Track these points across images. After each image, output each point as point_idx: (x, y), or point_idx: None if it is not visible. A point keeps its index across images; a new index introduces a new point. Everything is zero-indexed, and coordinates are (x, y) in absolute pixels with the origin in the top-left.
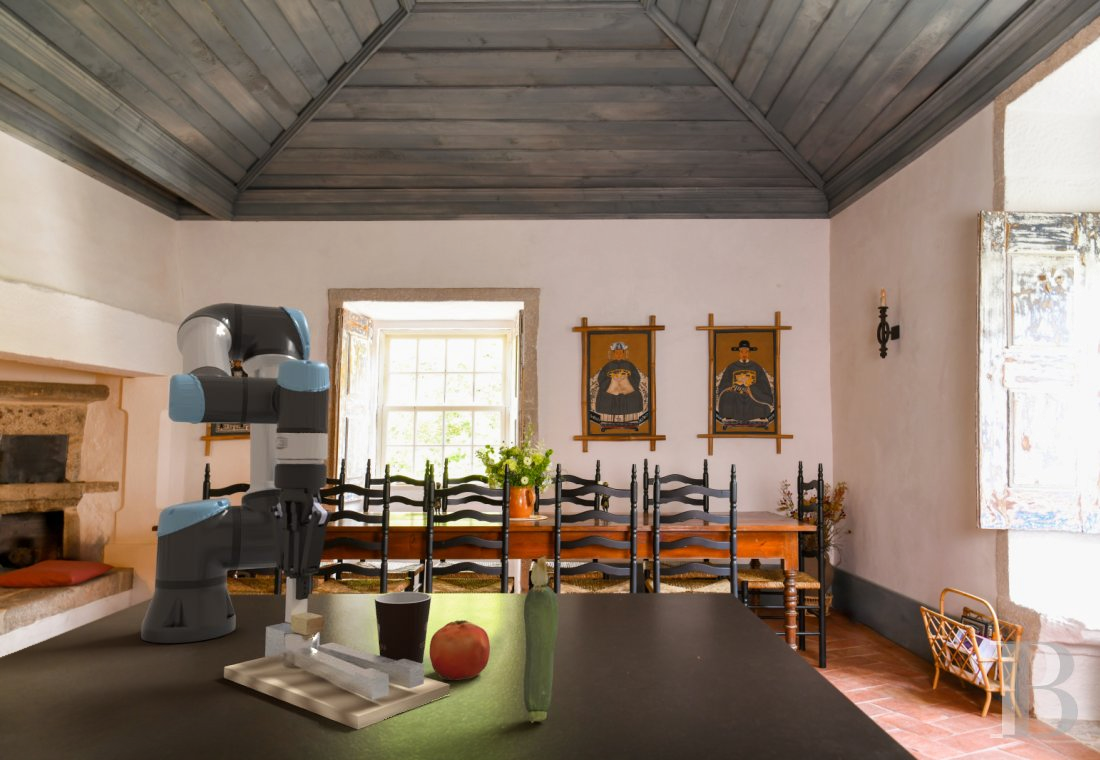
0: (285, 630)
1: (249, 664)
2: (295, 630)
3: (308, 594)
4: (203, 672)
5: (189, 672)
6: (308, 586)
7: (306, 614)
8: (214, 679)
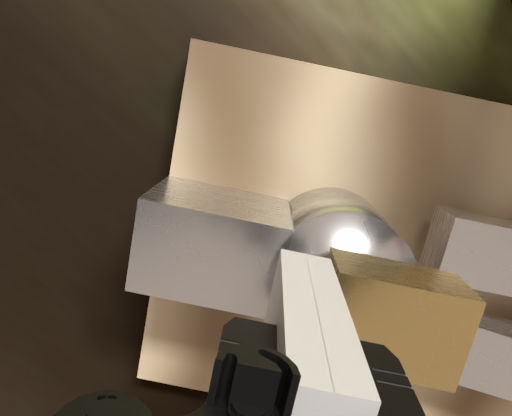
0: (256, 302)
1: (183, 328)
2: None
3: (398, 360)
4: (48, 350)
5: (14, 367)
6: (417, 400)
7: (373, 315)
8: (135, 379)
